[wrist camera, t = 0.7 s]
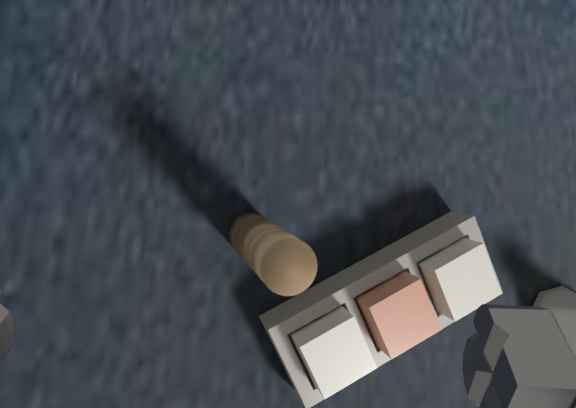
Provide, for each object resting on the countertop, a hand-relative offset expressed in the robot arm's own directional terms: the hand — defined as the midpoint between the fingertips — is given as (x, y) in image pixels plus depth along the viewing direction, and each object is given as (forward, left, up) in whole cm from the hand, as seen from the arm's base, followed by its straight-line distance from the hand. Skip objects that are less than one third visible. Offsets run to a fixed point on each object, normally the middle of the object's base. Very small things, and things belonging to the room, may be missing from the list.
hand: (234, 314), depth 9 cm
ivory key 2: (+18, +6, -31) cm, 36 cm away
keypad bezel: (+18, +12, -34) cm, 41 cm away
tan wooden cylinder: (+7, +4, -34) cm, 35 cm away
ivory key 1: (+18, +19, -31) cm, 41 cm away
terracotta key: (+18, +12, -31) cm, 38 cm away
